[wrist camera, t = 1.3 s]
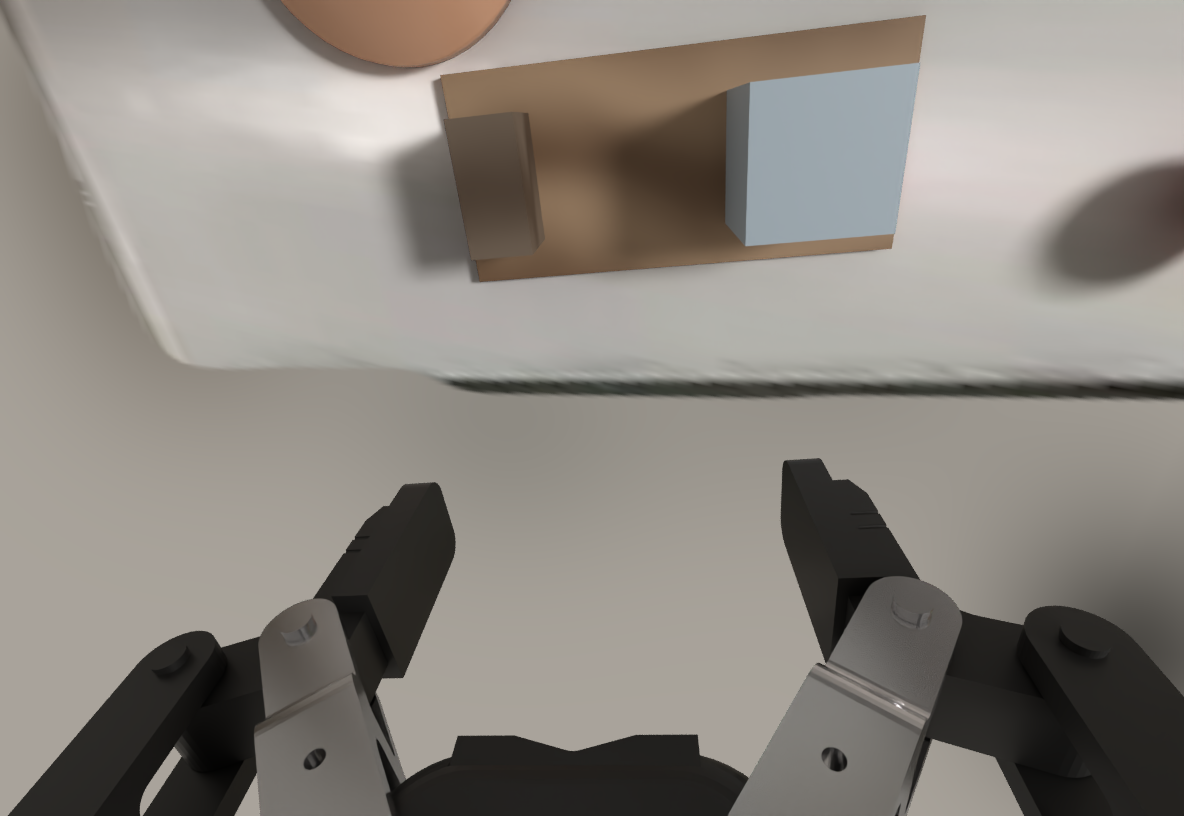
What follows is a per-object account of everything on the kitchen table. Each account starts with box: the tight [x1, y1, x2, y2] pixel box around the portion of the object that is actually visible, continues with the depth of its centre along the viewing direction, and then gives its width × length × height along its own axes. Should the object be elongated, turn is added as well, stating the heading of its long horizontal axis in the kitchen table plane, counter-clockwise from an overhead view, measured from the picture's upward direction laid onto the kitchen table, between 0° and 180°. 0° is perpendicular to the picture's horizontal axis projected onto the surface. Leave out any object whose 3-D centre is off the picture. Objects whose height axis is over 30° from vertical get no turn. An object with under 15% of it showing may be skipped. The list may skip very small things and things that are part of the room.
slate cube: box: [725, 63, 920, 246], centre depth 24 cm, size 6×6×6 cm
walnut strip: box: [440, 15, 926, 282], centre depth 26 cm, size 10×22×4 cm, turn 96°
